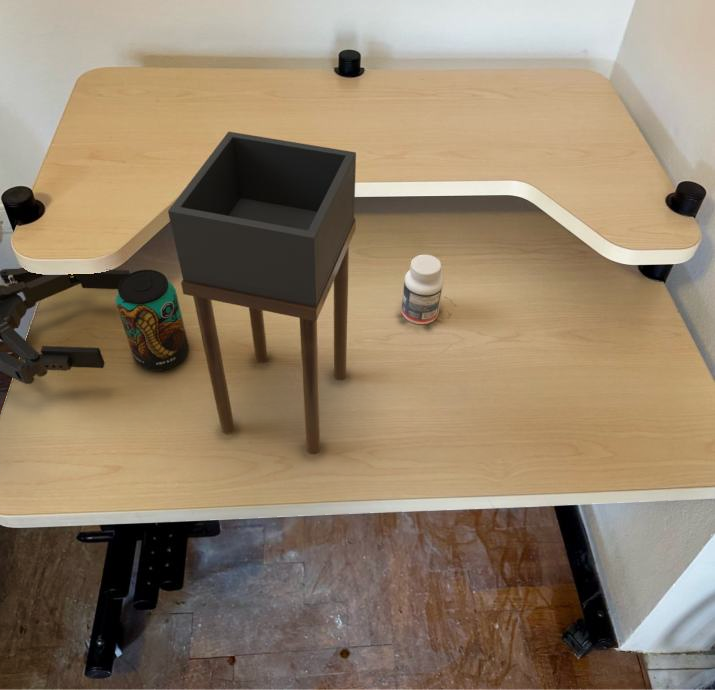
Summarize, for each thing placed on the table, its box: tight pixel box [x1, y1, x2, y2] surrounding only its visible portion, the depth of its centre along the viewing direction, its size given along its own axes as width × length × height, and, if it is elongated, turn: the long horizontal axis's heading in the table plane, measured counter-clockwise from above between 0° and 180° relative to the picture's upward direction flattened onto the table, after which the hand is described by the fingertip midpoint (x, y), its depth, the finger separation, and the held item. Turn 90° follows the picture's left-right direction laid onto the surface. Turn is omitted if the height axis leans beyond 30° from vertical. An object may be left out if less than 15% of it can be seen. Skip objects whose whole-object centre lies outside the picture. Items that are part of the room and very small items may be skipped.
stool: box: [180, 217, 357, 455], centre depth 74 cm, size 14×13×24 cm
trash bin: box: [167, 131, 357, 307], centre depth 62 cm, size 13×13×8 cm
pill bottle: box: [401, 254, 444, 325], centre depth 91 cm, size 5×5×9 cm
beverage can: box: [115, 269, 189, 371], centre depth 83 cm, size 7×7×12 cm
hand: (117, 316), depth 83 cm, fingers open, 13 cm apart
